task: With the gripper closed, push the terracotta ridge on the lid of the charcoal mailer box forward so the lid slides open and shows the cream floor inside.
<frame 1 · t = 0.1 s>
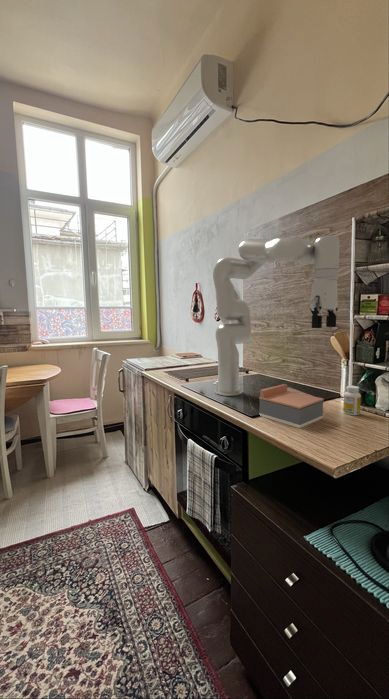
hand: (323, 327, 104), 31 cm above the counter, tool pointing down, fingers open, 9 cm apart
packaged product: (296, 403, 127), on the counter
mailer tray: (290, 417, 108), on the counter
supplement bottle: (351, 413, 112), on the counter
mailer lid: (290, 395, 107), point 8 cm above the counter, slide at 0.0 cm
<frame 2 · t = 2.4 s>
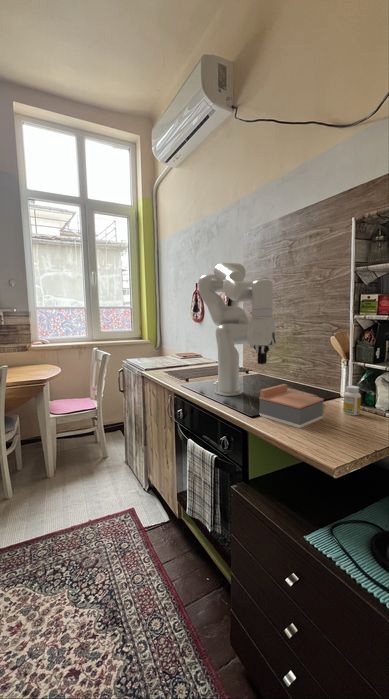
hand: (262, 363, 116), 17 cm above the counter, tool pointing down, fingers closed
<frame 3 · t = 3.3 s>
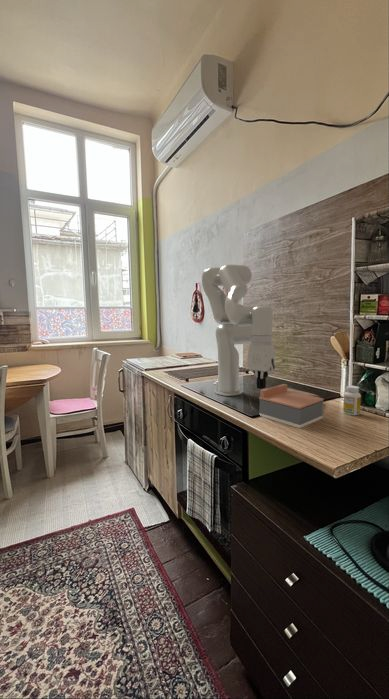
hand: (261, 388, 117), 8 cm above the counter, tool pointing down, fingers closed
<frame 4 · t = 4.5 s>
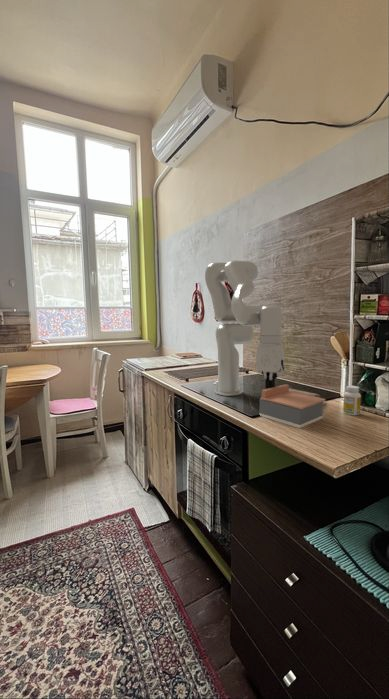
hand: (270, 389, 114), 8 cm above the counter, tool pointing down, fingers closed
mailer lid: (292, 395, 107), point 8 cm above the counter, slide at 0.6 cm, touching gripper
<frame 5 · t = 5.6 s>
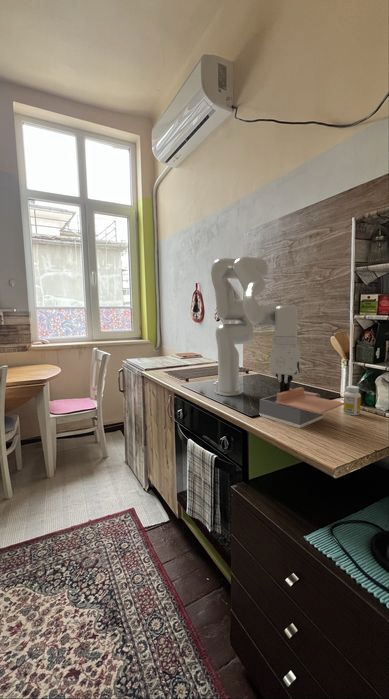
hand: (284, 393, 109), 8 cm above the counter, tool pointing down, fingers closed
mailer lid: (309, 399, 102), point 8 cm above the counter, slide at 7.0 cm, touching gripper
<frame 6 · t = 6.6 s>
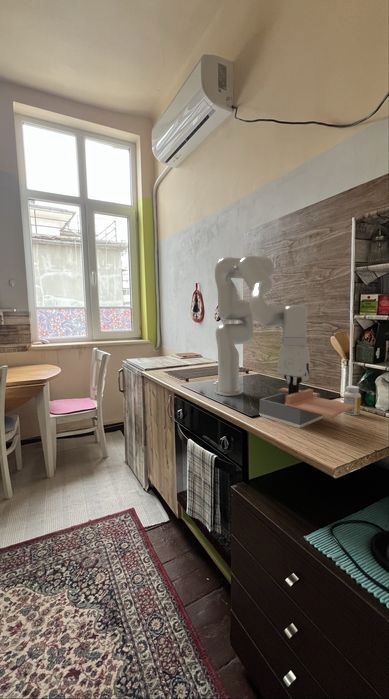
hand: (293, 395, 107), 8 cm above the counter, tool pointing down, fingers closed
mailer lid: (319, 401, 99), point 8 cm above the counter, slide at 10.5 cm, touching gripper
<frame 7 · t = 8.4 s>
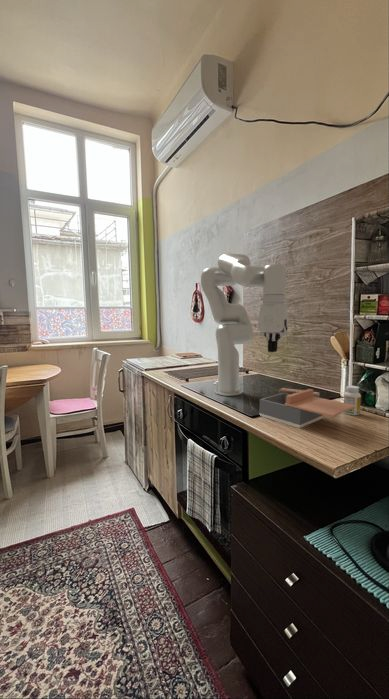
hand: (272, 351, 112), 22 cm above the counter, tool pointing down, fingers closed
mailer lid: (319, 401, 99), point 8 cm above the counter, slide at 10.5 cm
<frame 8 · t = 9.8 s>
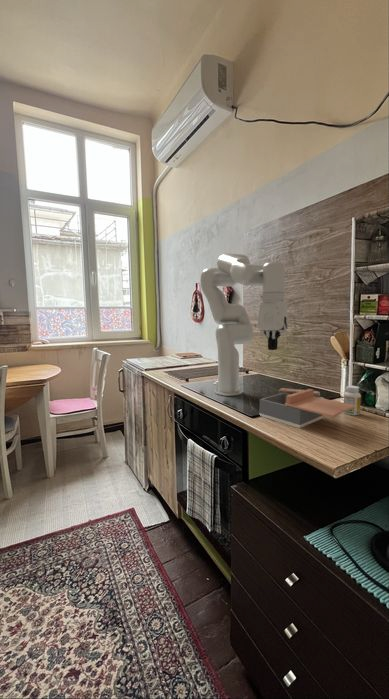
hand: (272, 349, 112), 23 cm above the counter, tool pointing down, fingers closed
at the end: mailer lid slide at 10.5 cm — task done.
